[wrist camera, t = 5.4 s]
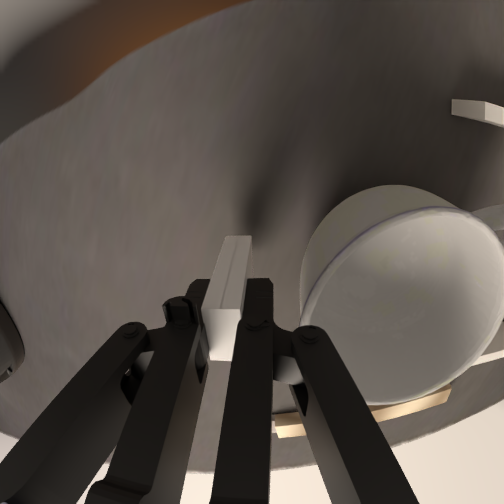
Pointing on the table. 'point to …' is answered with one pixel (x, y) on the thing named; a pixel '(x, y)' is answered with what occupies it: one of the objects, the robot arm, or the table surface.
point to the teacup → (404, 288)
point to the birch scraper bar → (294, 427)
